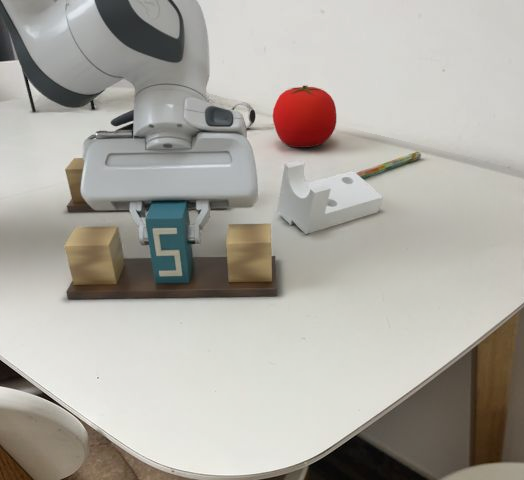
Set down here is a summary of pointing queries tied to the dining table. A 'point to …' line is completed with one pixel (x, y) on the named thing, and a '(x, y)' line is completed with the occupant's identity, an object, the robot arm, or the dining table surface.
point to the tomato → (304, 116)
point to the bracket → (324, 199)
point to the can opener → (124, 120)
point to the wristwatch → (251, 111)
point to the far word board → (88, 209)
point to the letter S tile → (169, 241)
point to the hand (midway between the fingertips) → (170, 243)
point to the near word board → (143, 283)
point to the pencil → (389, 165)
